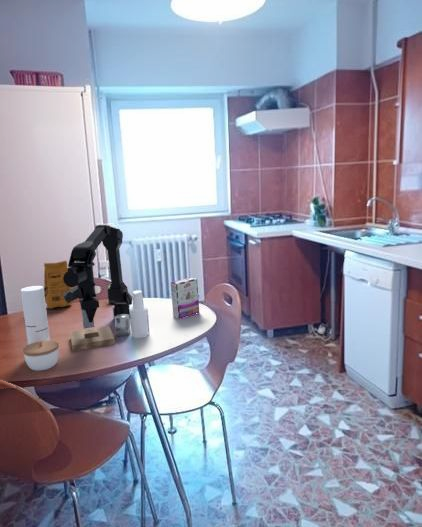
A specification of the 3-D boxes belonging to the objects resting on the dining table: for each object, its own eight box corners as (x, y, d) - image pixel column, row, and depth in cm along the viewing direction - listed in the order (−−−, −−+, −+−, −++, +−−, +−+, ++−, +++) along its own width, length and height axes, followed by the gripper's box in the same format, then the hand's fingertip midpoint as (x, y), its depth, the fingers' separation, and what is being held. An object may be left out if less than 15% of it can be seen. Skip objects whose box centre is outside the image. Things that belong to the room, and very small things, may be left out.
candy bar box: (193, 312, 191) (191, 276, 188) (199, 314, 187) (198, 278, 184) (172, 318, 184) (170, 281, 181) (178, 320, 180) (176, 283, 177)
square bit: (93, 323, 161) (91, 303, 159) (94, 327, 157) (92, 306, 156) (83, 325, 160) (80, 305, 158) (83, 328, 156) (81, 307, 154)
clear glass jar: (129, 332, 169) (127, 313, 168) (132, 336, 164) (130, 317, 163) (115, 334, 167) (113, 315, 166) (117, 339, 162) (115, 319, 161)
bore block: (109, 333, 169) (109, 325, 169) (115, 346, 156) (114, 338, 155) (71, 339, 164) (70, 332, 164) (73, 353, 151) (72, 345, 150)
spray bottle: (152, 334, 166) (149, 289, 163) (144, 340, 160) (140, 294, 156) (137, 332, 168) (133, 288, 165) (128, 339, 162) (124, 293, 158)
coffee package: (45, 304, 213) (39, 261, 209) (70, 300, 218) (65, 258, 214) (47, 309, 204) (41, 265, 200) (73, 305, 210) (68, 261, 205)
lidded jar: (26, 365, 142) (22, 339, 140) (59, 359, 146) (56, 333, 145) (26, 378, 133) (22, 350, 131) (62, 371, 137) (59, 344, 135)
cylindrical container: (33, 354, 152) (24, 286, 147) (54, 352, 152) (46, 285, 147) (27, 362, 145) (17, 291, 140) (48, 361, 145) (39, 290, 140)
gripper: (62, 277, 161) (66, 316, 164) (63, 289, 144) (68, 332, 147) (92, 274, 165) (96, 312, 168) (97, 284, 148) (101, 327, 151)
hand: (90, 320), depth 158 cm, fingers closed on square bit, 4 cm apart
